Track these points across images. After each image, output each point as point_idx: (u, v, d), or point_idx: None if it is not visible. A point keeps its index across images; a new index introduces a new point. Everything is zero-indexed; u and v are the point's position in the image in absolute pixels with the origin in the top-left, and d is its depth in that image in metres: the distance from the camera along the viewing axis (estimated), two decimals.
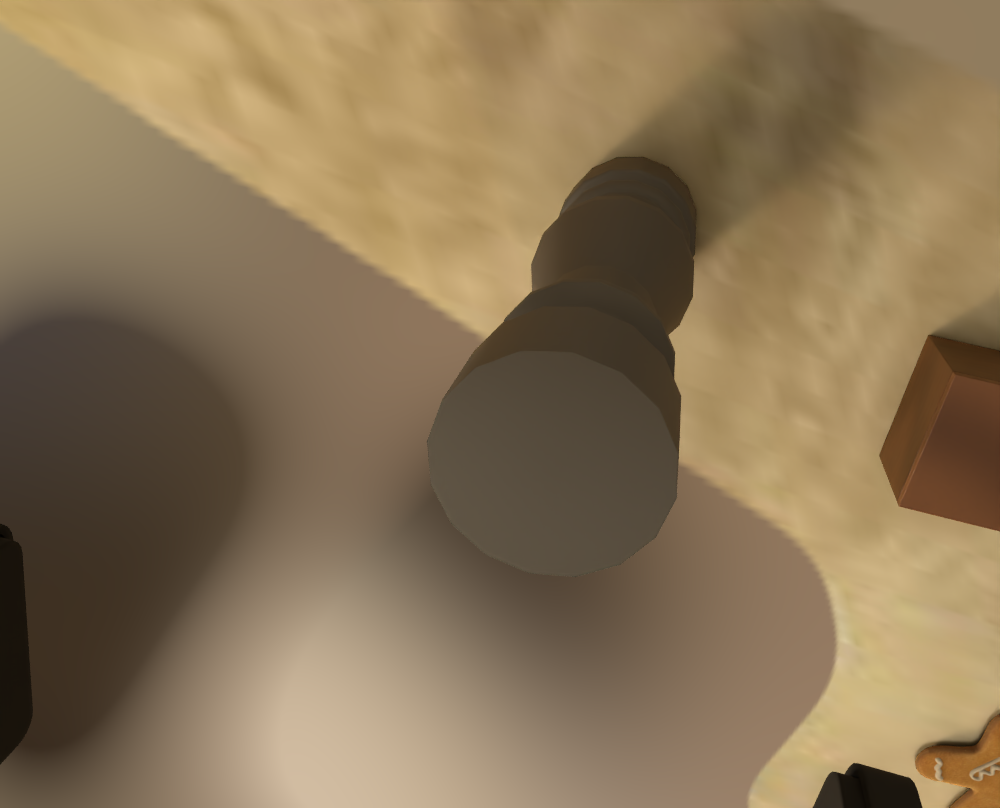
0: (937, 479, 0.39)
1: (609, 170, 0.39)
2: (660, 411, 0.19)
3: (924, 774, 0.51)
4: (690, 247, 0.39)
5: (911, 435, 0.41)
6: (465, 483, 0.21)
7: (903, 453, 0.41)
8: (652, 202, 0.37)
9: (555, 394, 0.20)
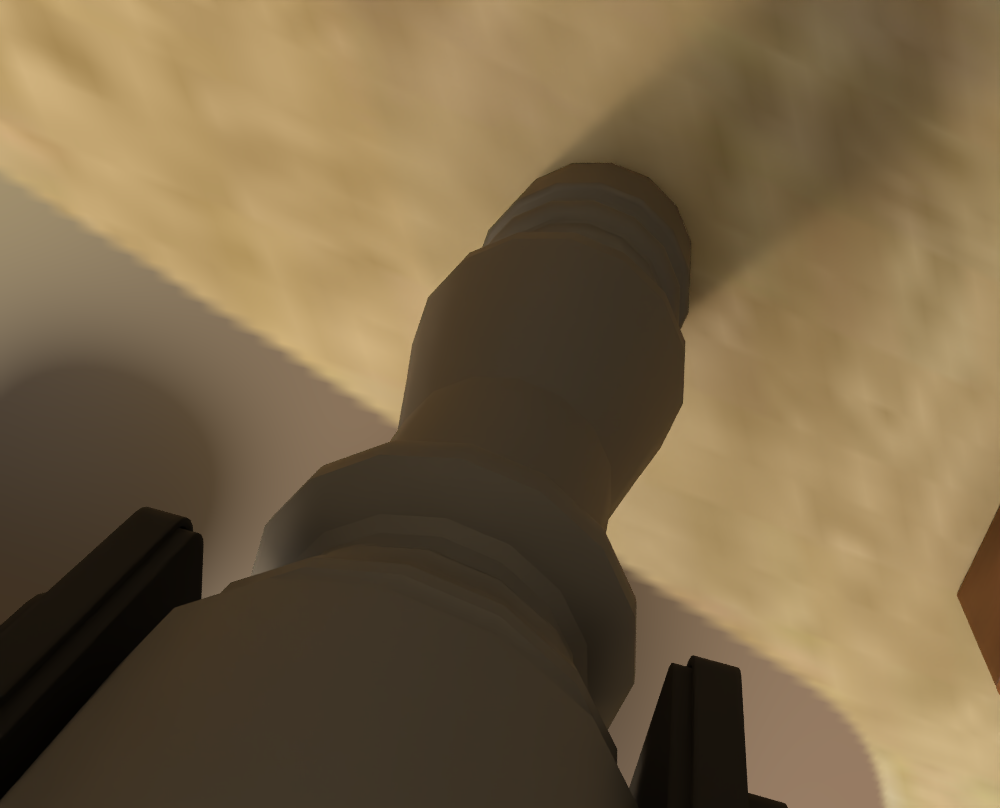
0: None
1: (554, 184, 0.25)
2: None
3: None
4: (681, 303, 0.25)
5: None
6: None
7: None
8: (619, 236, 0.23)
9: None
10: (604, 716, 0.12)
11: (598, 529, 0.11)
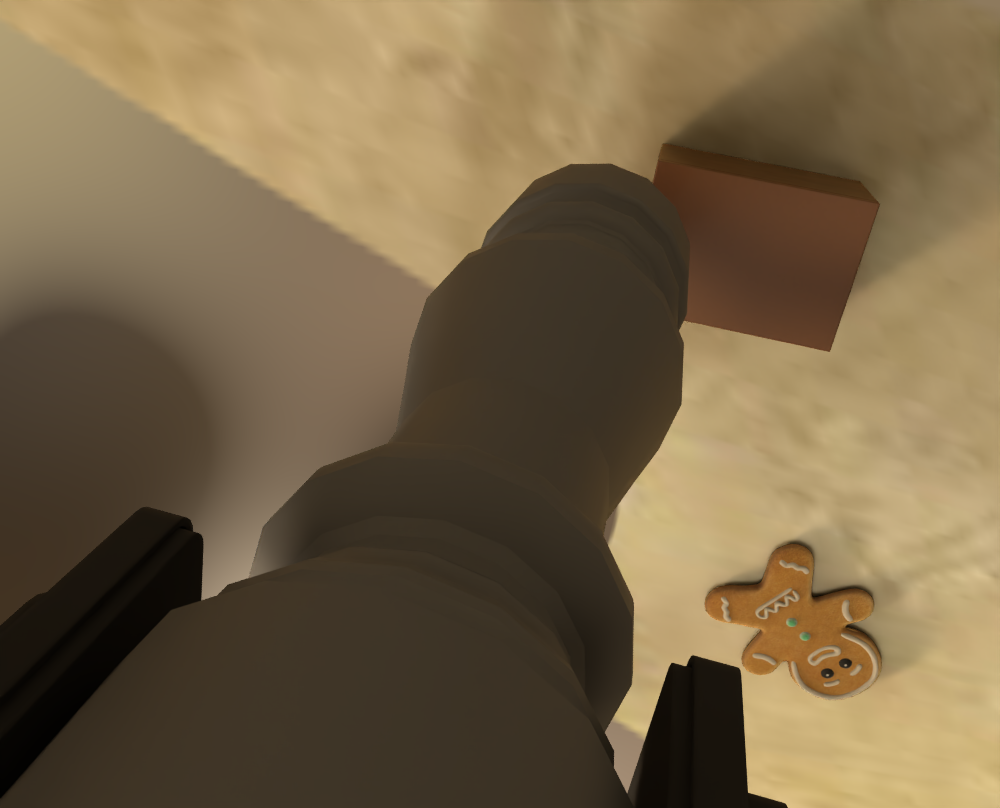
0: None
1: (553, 185, 0.25)
2: None
3: (713, 615, 0.51)
4: (680, 304, 0.25)
5: None
6: None
7: None
8: (618, 237, 0.23)
9: None
10: (601, 718, 0.12)
11: (596, 531, 0.11)
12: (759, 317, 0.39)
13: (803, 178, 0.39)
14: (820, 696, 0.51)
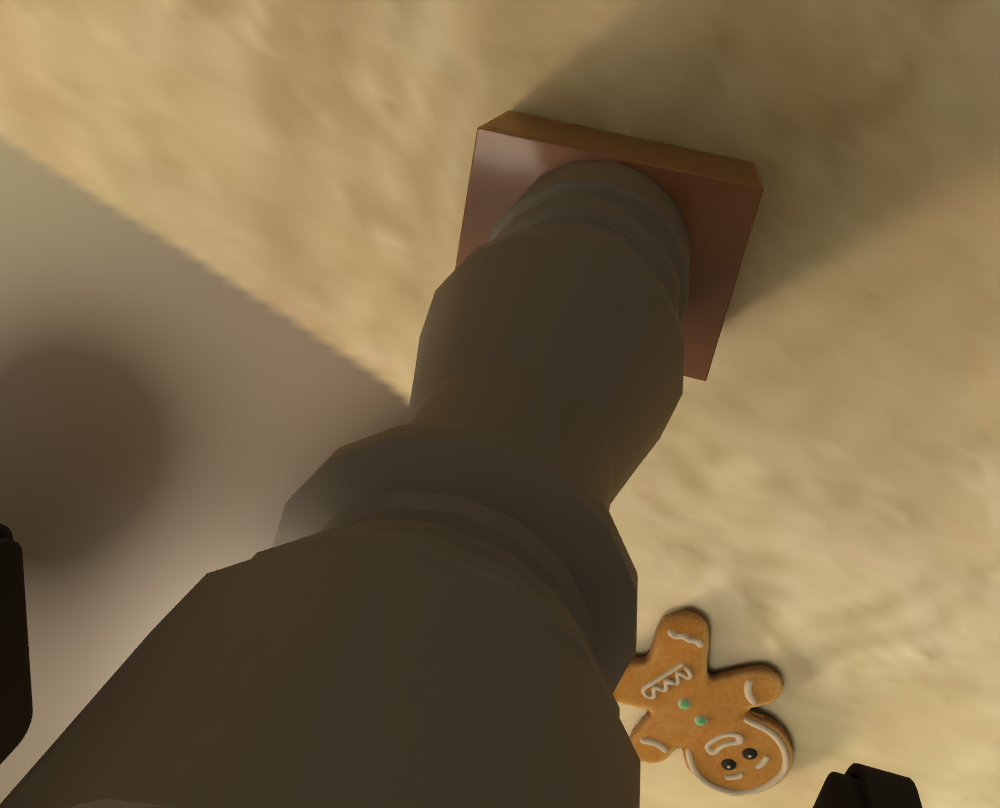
0: None
1: (557, 181, 0.25)
2: None
3: None
4: (681, 297, 0.26)
5: None
6: None
7: None
8: (620, 232, 0.24)
9: None
10: None
11: (601, 506, 0.12)
12: None
13: (674, 156, 0.30)
14: (721, 791, 0.42)
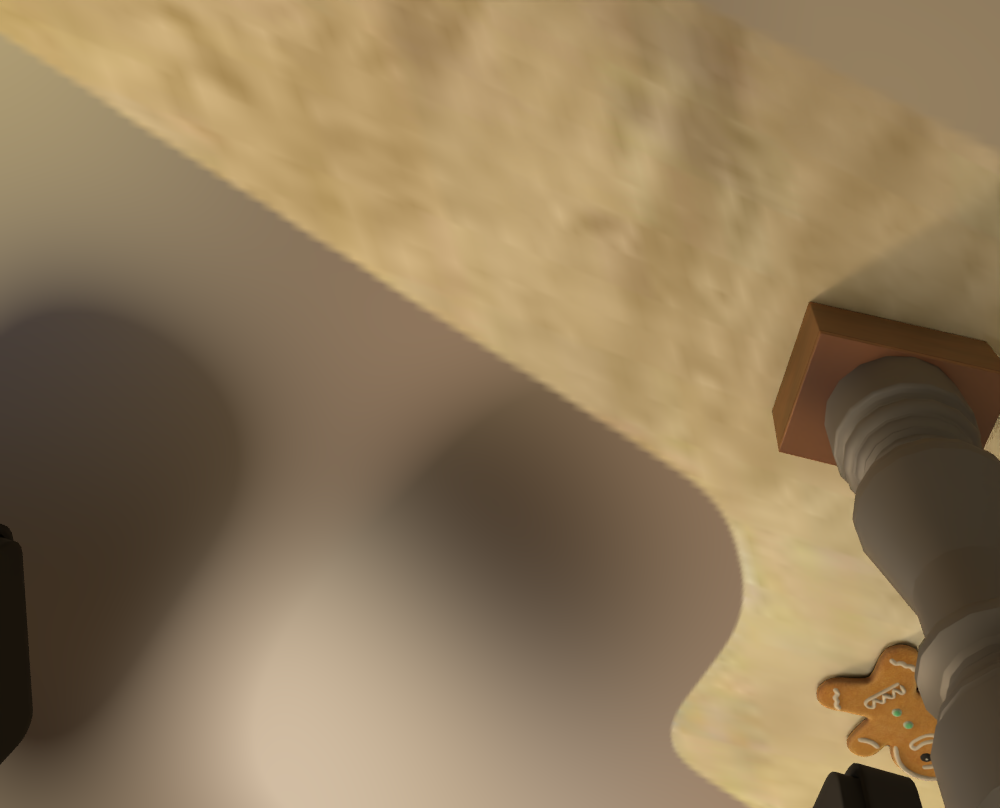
0: (810, 426, 0.45)
1: (899, 384, 0.40)
2: None
3: (824, 704, 0.56)
4: None
5: (791, 389, 0.46)
6: None
7: (785, 406, 0.47)
8: (955, 425, 0.38)
9: None
10: None
11: None
12: None
13: (941, 344, 0.45)
14: (918, 777, 0.57)
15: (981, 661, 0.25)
